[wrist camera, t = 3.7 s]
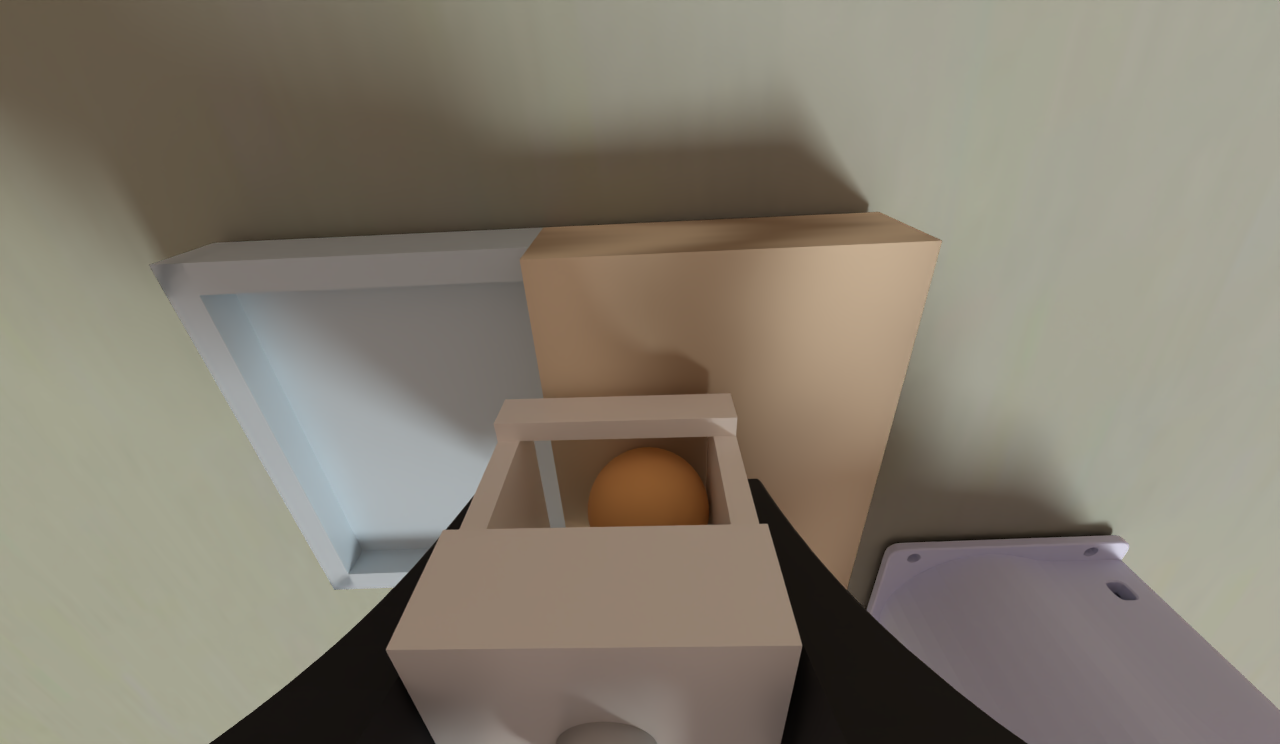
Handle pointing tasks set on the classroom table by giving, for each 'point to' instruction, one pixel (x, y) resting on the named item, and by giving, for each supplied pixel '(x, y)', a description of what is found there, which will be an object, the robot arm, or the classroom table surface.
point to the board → (740, 347)
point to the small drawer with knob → (602, 601)
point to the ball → (648, 491)
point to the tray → (367, 378)
